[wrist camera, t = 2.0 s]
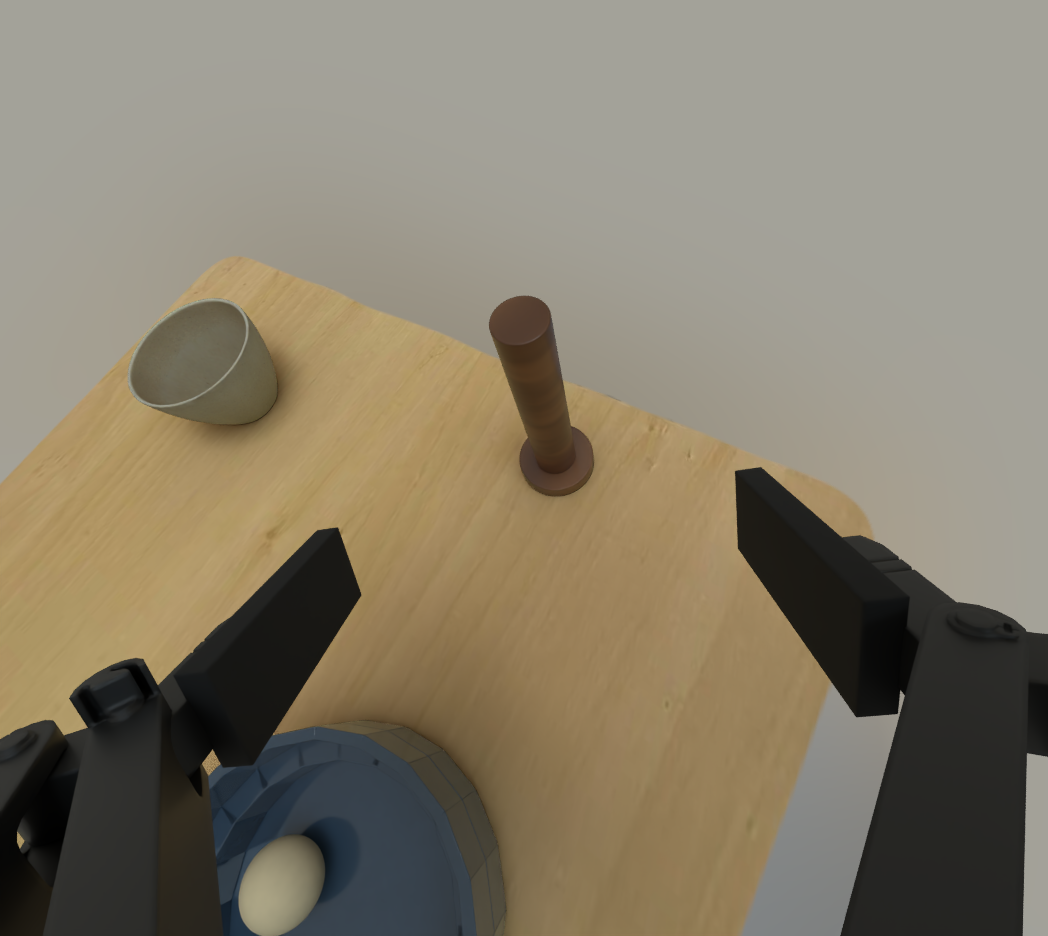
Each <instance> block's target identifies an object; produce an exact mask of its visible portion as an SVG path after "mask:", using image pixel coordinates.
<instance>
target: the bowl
mask: <svg viewBox="0 0 1048 936" xmlns="http://www.w3.org/2000/svg"><path fill="white" fill-rule="evenodd" d="M208 780H209V791H210V801H211V811H212V822H213V832H214V842H215V853H216V863H217V874H218V884H219V894H220V905H221V915H222V925H223V936H261V935H258V934H256V933H254V932H252V931H251V930H250V929H249V928H248V927H247V926H246V925H245V923H244V922H243V920H242V917H241V914H240V910H239V890H240V886H241V882H242V879H243V876H244V874H245V872H246V870H247V868H248V866H249V864H250V863H251V861H252V860H253V859H254V857H255V856H256V855H257V854H258V853H259V851H260V850H262V849H263V848H264V847H265V846H266V845H267V844H269V843H270V842H272V841H274V840H275V839H277V838H280V837H283V836H286V835H292V834H297V835H303V836H306V837H308V838H310V839H311V840H313V841H314V842H315V843H316V844H317V845H318V847H319V848H320V850H321V852H322V855H323V858H324V863H325V879H324V884H323V888H322V891H321V894H320V896H319V899H318V901H317V903H316V904H315V906H314V908H313V909H312V911H311V912H310V913H309V915H308V916H307V917H306V918H305V919H304V920H303V921H302V922H301V923H300V924H299V925H298V926H296V927H295V928H294V929H292V930H290V931H289V932H287V933H284V934H281V935H278V936H504V927H505V918H506V902H505V894H504V887H503V879H502V871H501V864H500V856H499V848H498V844H497V840H496V837H495V835H494V832H493V830H492V828H491V825H490V823H489V820H488V818H487V815H486V813H485V810H484V808H483V805H482V803H481V800H480V798H479V795H478V793H477V791H476V790H475V788H474V786H473V785H472V784H471V783H470V781H469V780H468V779H467V778H466V777H465V775H464V774H463V773H462V772H461V770H460V769H459V768H458V767H457V765H456V764H455V763H454V762H453V760H452V759H451V758H450V757H449V755H448V754H447V753H446V752H445V751H443V749H442V748H440V747H438V746H437V745H435V744H433V743H432V742H430V741H428V740H427V739H425V738H424V737H422V736H420V735H419V734H417V733H415V732H414V731H412V730H410V729H409V728H407V727H405V726H399V725H393V724H387V723H381V722H375V721H369V720H359V721H352V722H344V723H336V724H329V725H321V726H314V727H309V728H305V729H300V730H295V731H290V732H286V733H281V734H276V735H272V736H271V738H270V739H269V741H268V743H267V744H266V746H265V747H264V749H263V750H262V752H261V754H260V755H259V757H258V758H257V760H256V761H255V763H254V765H252V766H240V767H227V768H223V767H222V765H221V764H220V765H219V766H218V767H217V768H216V769H215V770H214V771H213V772H212V773H211V774H210V775H209V776H208Z"/></svg>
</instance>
